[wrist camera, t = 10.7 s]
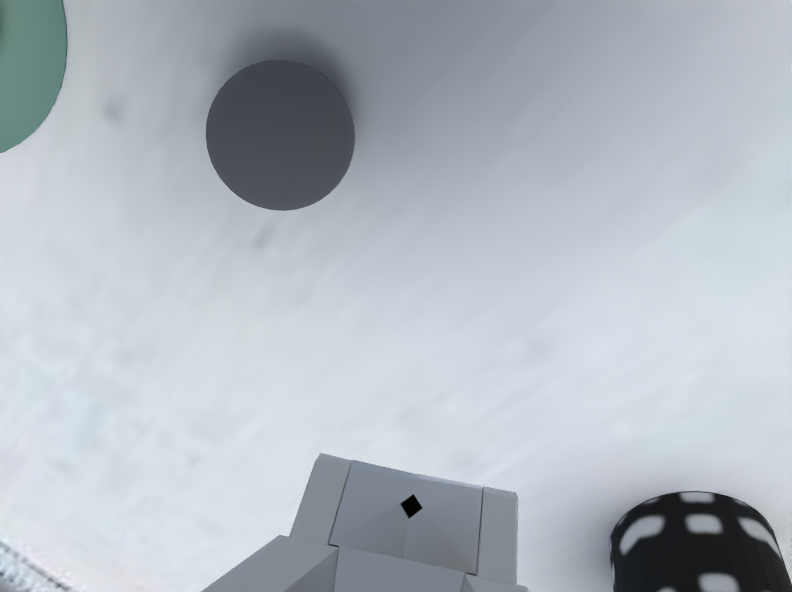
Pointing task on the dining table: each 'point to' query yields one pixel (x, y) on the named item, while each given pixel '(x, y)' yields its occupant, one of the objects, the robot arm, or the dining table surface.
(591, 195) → the dining table surface
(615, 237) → the dining table surface
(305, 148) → the dark grey round ball
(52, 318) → the dining table surface
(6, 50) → the teal flat disc
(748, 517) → the spotted tube
